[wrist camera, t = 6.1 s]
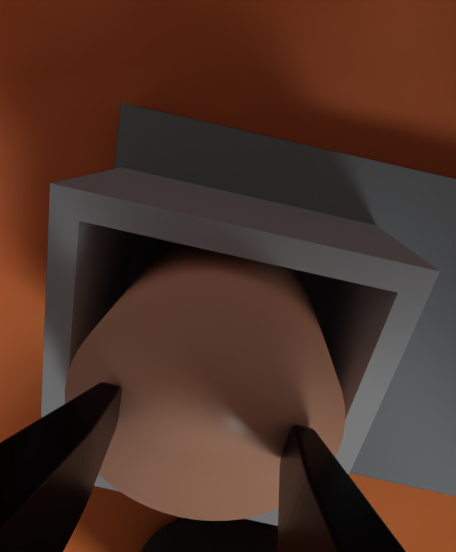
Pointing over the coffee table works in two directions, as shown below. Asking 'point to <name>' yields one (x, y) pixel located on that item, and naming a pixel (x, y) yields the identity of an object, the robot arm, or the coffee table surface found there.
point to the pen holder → (214, 537)
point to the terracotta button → (209, 382)
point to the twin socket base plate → (287, 253)
